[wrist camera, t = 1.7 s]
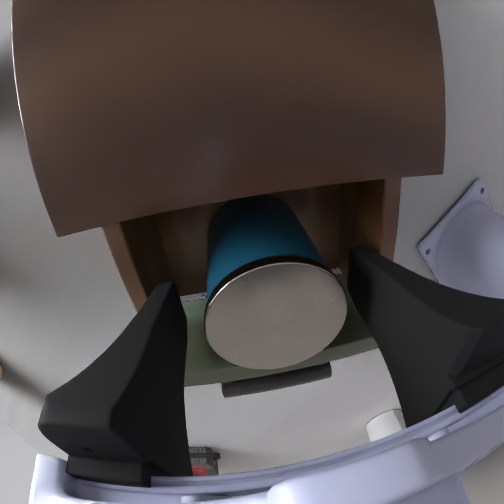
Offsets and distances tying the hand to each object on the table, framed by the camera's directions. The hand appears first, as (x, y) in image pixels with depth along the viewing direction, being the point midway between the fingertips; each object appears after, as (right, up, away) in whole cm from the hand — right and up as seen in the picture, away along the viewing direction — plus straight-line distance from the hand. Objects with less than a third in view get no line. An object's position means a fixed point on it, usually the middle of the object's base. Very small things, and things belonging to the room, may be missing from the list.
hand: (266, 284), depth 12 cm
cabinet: (-2, +12, 0) cm, 13 cm away
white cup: (+19, -24, +24) cm, 39 cm away
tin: (0, +2, +4) cm, 4 cm away
